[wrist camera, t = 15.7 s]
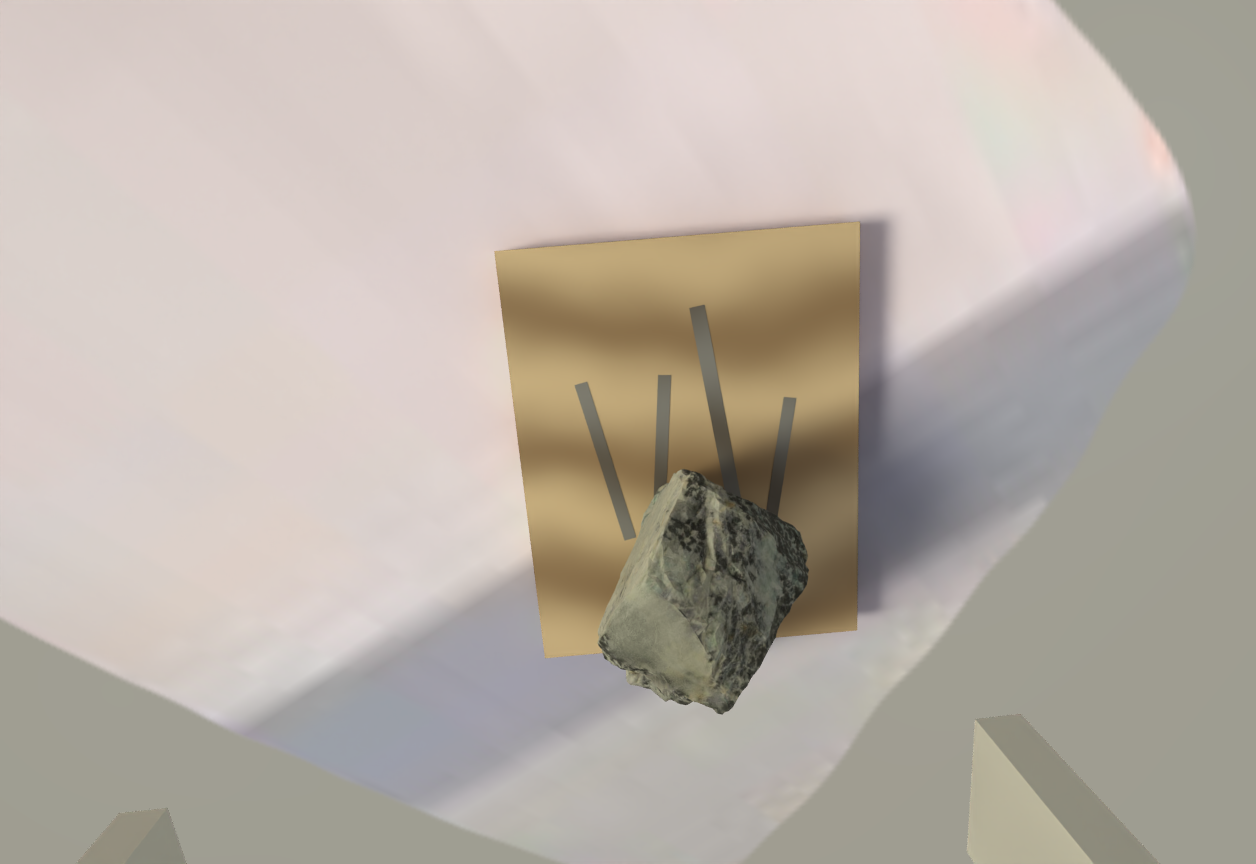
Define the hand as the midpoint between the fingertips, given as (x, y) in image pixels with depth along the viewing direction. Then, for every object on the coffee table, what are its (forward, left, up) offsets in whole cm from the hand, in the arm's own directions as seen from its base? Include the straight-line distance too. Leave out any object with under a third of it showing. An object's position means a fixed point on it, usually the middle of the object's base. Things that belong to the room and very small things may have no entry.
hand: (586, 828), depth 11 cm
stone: (+4, +4, -21) cm, 22 cm away
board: (0, +4, -22) cm, 22 cm away
